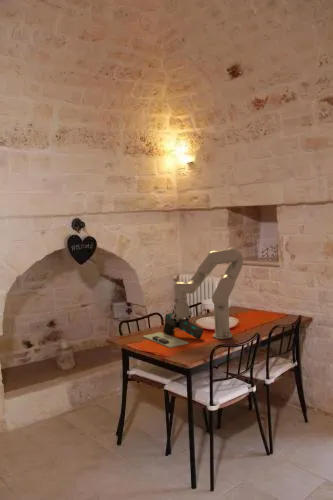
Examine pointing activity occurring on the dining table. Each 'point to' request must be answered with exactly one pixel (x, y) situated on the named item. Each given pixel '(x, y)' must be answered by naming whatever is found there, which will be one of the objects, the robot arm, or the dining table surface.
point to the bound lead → (160, 340)
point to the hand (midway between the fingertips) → (182, 326)
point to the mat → (172, 340)
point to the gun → (182, 326)
